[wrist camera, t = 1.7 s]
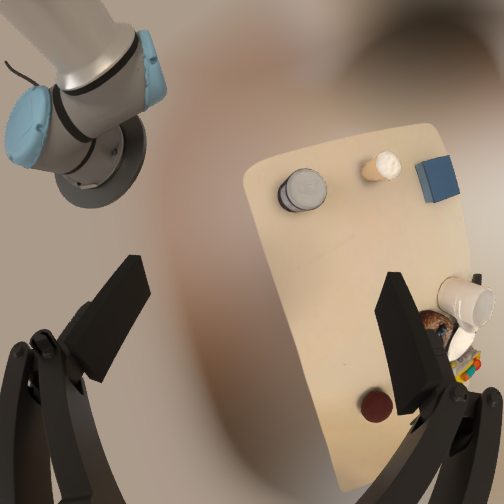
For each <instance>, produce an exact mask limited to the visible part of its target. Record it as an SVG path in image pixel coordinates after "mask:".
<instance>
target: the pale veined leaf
mask: <svg viewBox="0 0 504 504" xmlns="http://www.w3.org/2000/svg"><path fill="white" fill-rule="evenodd" d="M474 337H475V332H474V333H467V332H465V331H464V330H463V329H462V328H461V327H459V328H458V329H457V331H456V333H455V335H454V336H453V338H452V341H451V343H450V347H449V350H448V358H449V361H453V360H456V359H458V358H459V357H460V356H461V355H462V354H463V353H464V352H465V351H466V350H467V349H468V348H469V346H470V345H471V344H472V342H473V340H474Z"/></svg>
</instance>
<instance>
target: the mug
mask: <svg viewBox="0 0 504 504" xmlns="http://www.w3.org/2000/svg"><path fill="white" fill-rule="evenodd" d="M438 304H439V307H440V309H441V310H442V311H444V312H446V313H448V314H450V315H452V316H454V317H455V318H456V320H457V322H458V324H459V326H460V327H461V328H462V329H463V330H464V331H465V332H467V333H474V332H476V331H477V330H478V329H479V328H480V327H482V326H484V325H485V324H486V323H487V322H488V320H489V319H490V317H491V315H492V313H493V310H494V305H495V297H494V293H493V291H492V290H491V289H490V288H487V287H483V286H481V285H478V284H475V283H471V282H468V281H465V280H462V279H459V278H455V277H451V278H448V279H447V280H446V281H445V282H444V283H443V284H442V286H441V288H440V290H439V293H438Z"/></svg>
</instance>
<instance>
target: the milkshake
mask: <svg viewBox="0 0 504 504" xmlns="http://www.w3.org/2000/svg"><path fill="white" fill-rule="evenodd" d="M400 169H401V164H400V161H399V160H398V158H397V156H396V155H394V154H393V153H391V152H388V151H384V152H381V153H380V154H379V155H378V156H376V157H375V158H374V159H372V160H371V161H369V162H368V163H366V164H365V165H364V166H363V167H362V169H361V174H362V177H363V178H364V179H365V180H368V181H376V180H384V179H388V180H389V179H394V178H396V177H397V176H398V175H399V172H400ZM389 181H390V180H389Z"/></svg>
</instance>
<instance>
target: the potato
mask: <svg viewBox="0 0 504 504" xmlns="http://www.w3.org/2000/svg"><path fill="white" fill-rule="evenodd" d="M392 409H393V403H392V400H391V399H390V397H389V396H388V395H387V394H385V393H383V392H379V391H375V392H371V393H370V394H368V395H367V396H366V397H365V398H364V400H363V402H362V405H361V413H362V415H363V416H364V417H365V419H366V420H368V421H370V422H373V423H378V422H381V421H383V420H385V419H386V418H388V417H389V415H390V414H391V412H392Z"/></svg>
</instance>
